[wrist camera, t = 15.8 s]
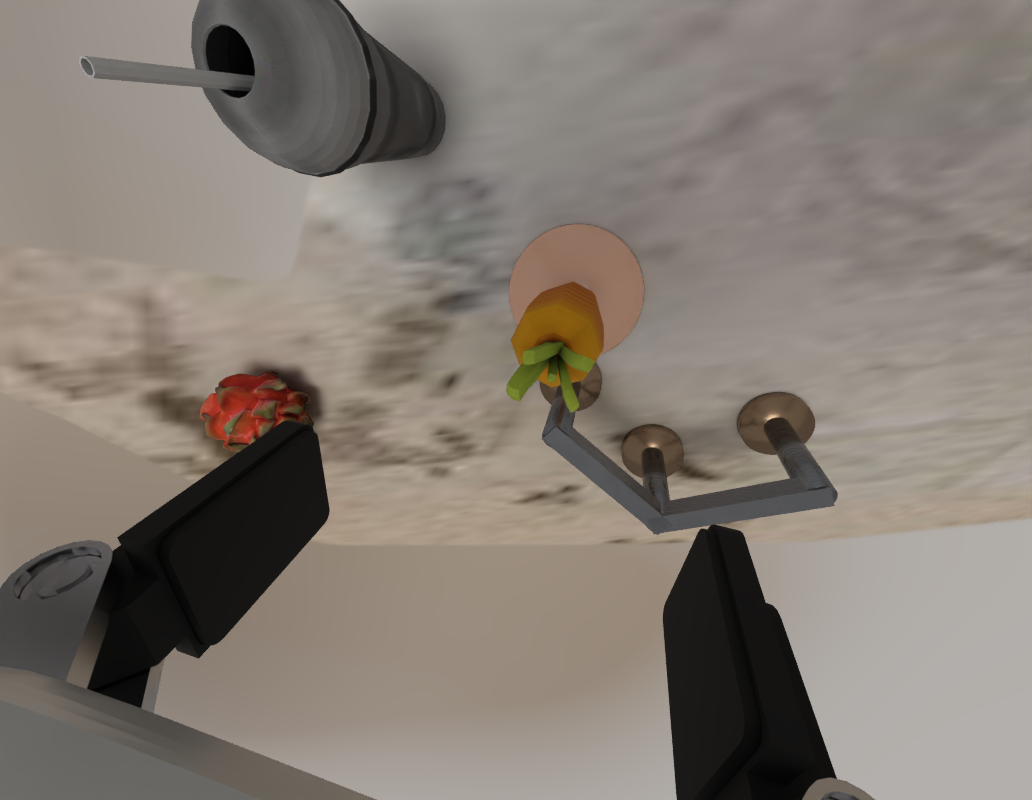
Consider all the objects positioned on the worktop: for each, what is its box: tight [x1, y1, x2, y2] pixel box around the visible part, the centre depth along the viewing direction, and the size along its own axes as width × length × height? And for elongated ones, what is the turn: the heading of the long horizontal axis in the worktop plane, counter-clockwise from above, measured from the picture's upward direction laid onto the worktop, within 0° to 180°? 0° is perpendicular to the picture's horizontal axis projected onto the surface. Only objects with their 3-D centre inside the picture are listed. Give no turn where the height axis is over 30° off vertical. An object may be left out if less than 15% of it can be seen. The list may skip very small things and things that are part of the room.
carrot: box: [506, 282, 604, 413], centre depth 24 cm, size 5×5×15 cm
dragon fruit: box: [199, 371, 314, 452], centre depth 40 cm, size 8×8×12 cm
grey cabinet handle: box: [540, 363, 838, 535], centre depth 31 cm, size 21×10×9 cm, turn 83°
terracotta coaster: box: [509, 224, 644, 355], centre depth 31 cm, size 10×10×1 cm
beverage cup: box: [79, 0, 445, 177], centre depth 20 cm, size 7×7×20 cm
